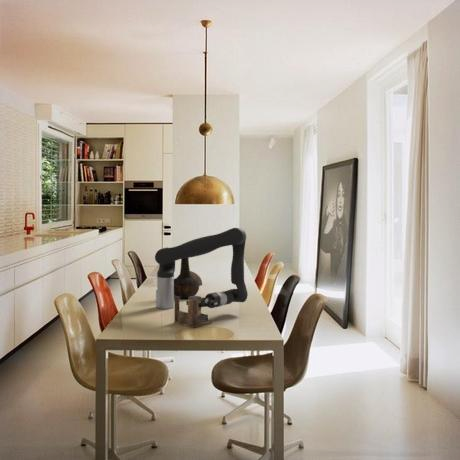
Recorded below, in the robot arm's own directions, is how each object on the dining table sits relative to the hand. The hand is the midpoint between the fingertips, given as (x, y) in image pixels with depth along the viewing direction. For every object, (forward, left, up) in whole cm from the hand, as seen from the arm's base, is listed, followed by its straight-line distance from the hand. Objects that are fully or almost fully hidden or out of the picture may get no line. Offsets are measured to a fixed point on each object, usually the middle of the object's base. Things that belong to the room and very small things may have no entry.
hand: (192, 304), depth 264 cm
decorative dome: (-85, +74, -10) cm, 113 cm away
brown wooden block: (0, +1, -8) cm, 9 cm away
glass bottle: (-53, +43, -10) cm, 69 cm away
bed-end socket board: (0, 0, -10) cm, 10 cm away
